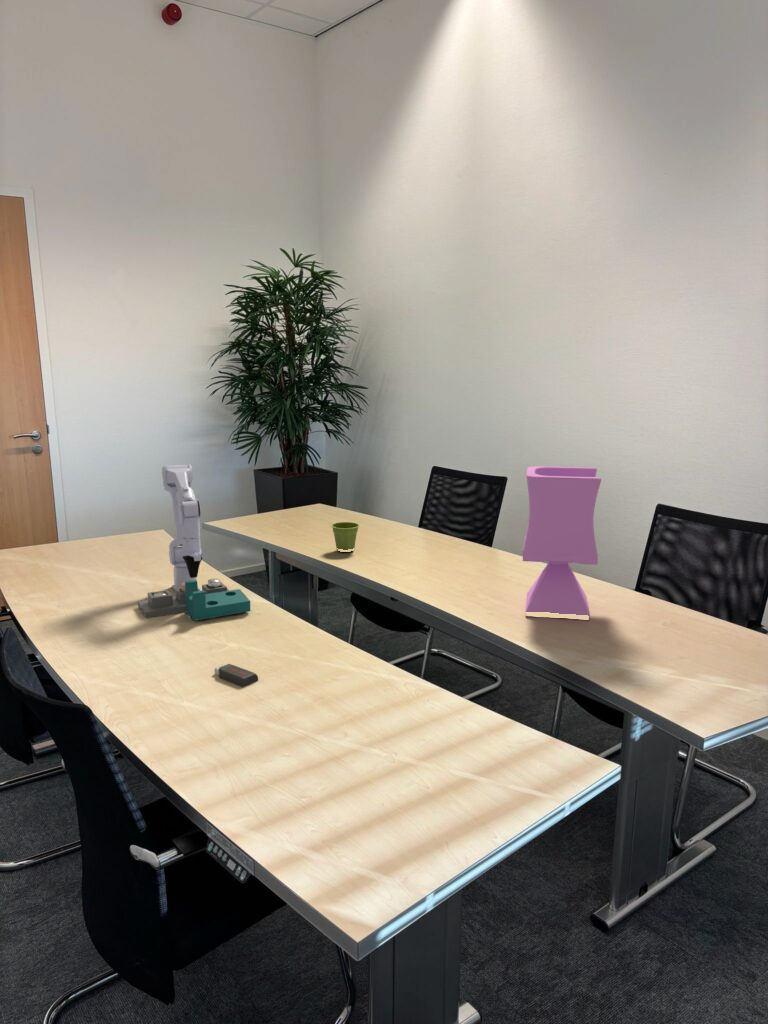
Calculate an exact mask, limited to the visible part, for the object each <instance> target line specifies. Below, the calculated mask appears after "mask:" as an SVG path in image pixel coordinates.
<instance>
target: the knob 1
mask: <svg viewBox="0 0 768 1024" xmlns="http://www.w3.org/2000/svg"><path fill="white" fill-rule="evenodd" d="M165 595H166V593H163V592H160V593H155V594H154V597H158V596H165Z"/></svg>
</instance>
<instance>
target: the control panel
mask: <svg viewBox="0 0 768 1024" xmlns="http://www.w3.org/2000/svg"><path fill="white" fill-rule="evenodd" d="M202 590H204V591H205V594H210V593H217V592H223V591H230V590H229V588H228V587H227V586H226V585H225V584H224V583H223V582H221V581H220V587H218V588H211V589H209V588H208V583H206V584H205V583H204V584H201V589H200V590H199V589H198V591H202ZM174 591H175V593H174V594H175V595H173V594H172V592H170V590H168V589H165V590H157V591H151V592H147V594H146V595H147V599H146V600H141V601H140V600H139V601H137V605H138V606H137V608H138V609H139V610H140V611H142V612H141V613H142V615H143V616H144V615H145V616H144V618H146V619H149V618H148V617H150V618H155V617H154V616H156V617H161V615H162V616H167V615H166V614H168V615H173V613H175V614H180V612H181V613H186V612H185V611H186V600H185V593H182V592H181V588H177V589H174ZM160 592H163V593H166V595H165V596H158V597H154V594H155V593H160Z"/></svg>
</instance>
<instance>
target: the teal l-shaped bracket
mask: <svg viewBox="0 0 768 1024" xmlns="http://www.w3.org/2000/svg"><path fill="white" fill-rule="evenodd" d="M198 587H199V586H198V580H197V579H196V580H192V581H185V600H186V612H185V613H186V614H187V616H188V617H189V616H190V617H191V618H192V619H193V620H194V621H200V620H206V619H212V618H217V617H218V618H219V617H225V616H230V615H235V614H242V613H249V612H251V599H249V598H248V596H247V595H246V594H245V592H243V591H242V590H241V589H240V588H237V589H232V590H230V591H223V592H217V593H210V594H205V591H204V590H202V589H201V590H200V591H198ZM190 617H189V618H190Z"/></svg>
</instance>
